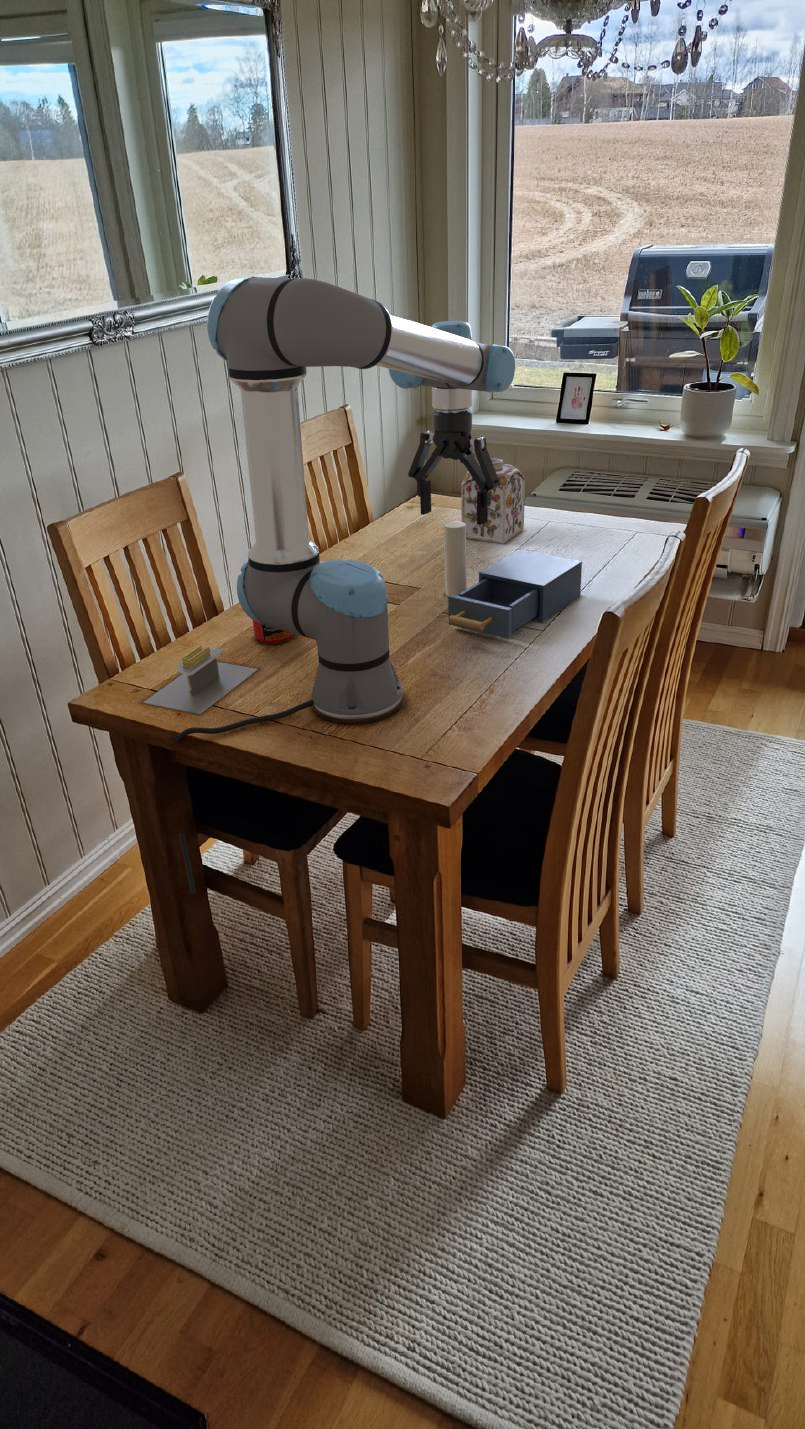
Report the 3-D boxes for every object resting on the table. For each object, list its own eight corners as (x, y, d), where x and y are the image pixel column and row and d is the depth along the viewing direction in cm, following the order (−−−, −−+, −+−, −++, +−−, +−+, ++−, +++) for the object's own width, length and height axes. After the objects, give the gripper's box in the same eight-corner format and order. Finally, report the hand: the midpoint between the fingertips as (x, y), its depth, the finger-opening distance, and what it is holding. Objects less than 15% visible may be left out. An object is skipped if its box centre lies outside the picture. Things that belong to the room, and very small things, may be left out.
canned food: (266, 648, 182) (259, 593, 177) (247, 634, 188) (240, 581, 183) (301, 637, 186) (296, 584, 180) (282, 625, 192) (276, 572, 186)
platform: (142, 702, 165) (135, 668, 162) (203, 659, 179) (198, 626, 176) (200, 714, 160) (194, 678, 157) (258, 668, 175) (254, 635, 171)
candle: (455, 599, 199) (454, 529, 192) (441, 594, 202) (439, 524, 195) (471, 593, 202) (470, 524, 195) (456, 588, 205) (455, 519, 198)
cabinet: (542, 622, 187) (543, 585, 183) (479, 607, 195) (478, 572, 191) (580, 596, 198) (582, 561, 194) (518, 583, 206) (519, 549, 202)
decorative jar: (460, 538, 233) (459, 463, 225) (481, 524, 242) (481, 452, 233) (505, 544, 228) (506, 468, 219) (525, 530, 236) (527, 456, 228)
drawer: (495, 648, 176) (495, 618, 173) (435, 632, 183) (434, 604, 180) (547, 613, 189) (547, 585, 186) (488, 599, 196) (488, 572, 193)
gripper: (519, 411, 180) (517, 522, 190) (411, 400, 193) (414, 504, 203) (497, 418, 174) (496, 532, 184) (388, 407, 188) (392, 513, 198)
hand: (453, 518), depth 194 cm, fingers open, 13 cm apart
